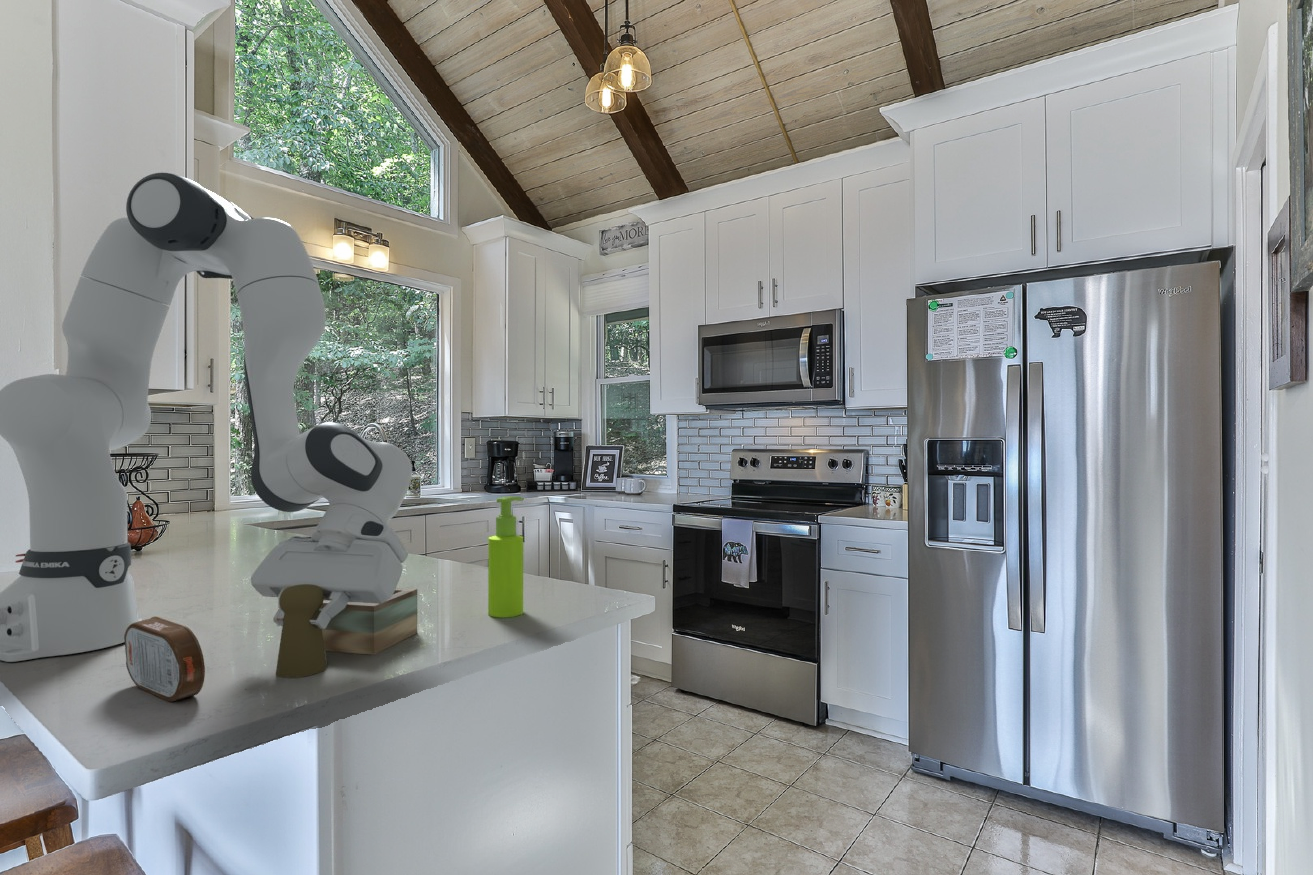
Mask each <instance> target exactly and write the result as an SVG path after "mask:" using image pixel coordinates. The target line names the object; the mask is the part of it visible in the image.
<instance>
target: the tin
mask: <svg viewBox="0 0 1313 875" xmlns="http://www.w3.org/2000/svg"><path fill="white" fill-rule="evenodd" d="M124 640H125V642H124V647H125V651H124V652H125V657H126V658H125V659H126V660H125V661H126V662H125V665H126V669H127V672H128V675H129V677H130V679H131V680H132V682H133V684H134V685H135V686H136V687H137V688H139V689H141V690H143V691H145V692H148V693H149V694H151V695H154V696H156V697H158V698H160V699H162V700H165V701H167V702H170V703H171V702H177V701H180V700H183V699H186V698H188V697H193V696H194V697H195V696H197V695H198V694H199V693H200V692H201V691H202V688H203V687H204V682H205V677H206V667H205V666H206V664H205V659H204V658H205V657H204V653H203V650H202V646H201V644H200V642H199V639H198V638H197V635H196V634H194V632H193V631H192V630H191V628H189V627H188V626H186V625H183V624H180V623H177V622H173V621H171V620H167V619H166V618H163V617H160V616H152V617H150V618H147V619H142V621H138V622H135V623H133V624H131V625H129V627H128V628H127V630H126V632H125V635H124Z"/></svg>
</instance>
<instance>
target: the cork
mask: <svg viewBox="0 0 1313 875" xmlns="http://www.w3.org/2000/svg"><path fill="white" fill-rule="evenodd" d="M323 601H324V594H323V590H322V589H321V588H320V587H319V586H317V585H311V584H301V585H295V586H291V587H288V588H286V589H284V590H283V591H282V593H281V595H280V599H279V604H280V608H281V610H282V611H283V612H284V619H283V626H281V627H282V628H281V634H280V641H279V648H278V653H277V654H278V655H277V663H276V670H275V675H276V676H277V677H281V678H290V679H291V678H303V677H308V676H313V675H316V674H319V673H322V672H323V671H325V670H326V669H327V668H328V663H327V656H326V651H325V647H324V641H323V634H322V629H319V628H315V627H313V626H312V625H311V624H310V622H309V621H310V619H311V618H312V617H313V614H314V612H315V611H319V609H320V607H321V606H322V604H323Z"/></svg>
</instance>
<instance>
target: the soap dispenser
mask: <svg viewBox="0 0 1313 875" xmlns="http://www.w3.org/2000/svg"><path fill="white" fill-rule="evenodd" d="M524 498H525V497H520V496H503V497H498V498H496V503H500V514H499V515H498V516H496V517H495V535H492V536H489V537H488V541H487V542H488V552H487V556H488V563H487V566H488V567H487V568H488V573H487V574H488V576H487V578H488V580H487V582H488V585H487V586H488V590H487V591H488V596H487V597H488V598H487V599H488V600H487V601H488V602H487V604H488V605H487V606H488V607H487V608H488V609H487V610H488V612H487V614H488V616H490V617H492V618H504V619H505V618H513V617H518V616H521V615H522V614H523V613H524V536H522V535H519V534H517V516H515V515H513V514H512V502H514V501H516V502H517V501H520V502H522V501H524V500H525V499H524Z"/></svg>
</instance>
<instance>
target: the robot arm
mask: <svg viewBox="0 0 1313 875" xmlns="http://www.w3.org/2000/svg"><path fill="white" fill-rule="evenodd" d="M125 206H126V207H125V211H126V216H127V217H121V218H117V219H115V220H113V221H111V222H110V223H109V225H108V226H107V227H106V229H105V230H104V231H103V233H102V234H101V235H100V237H99V239H98V240H97V242H96V243H95V245H94V247H93V249H92V250H91V252H90V253H89V256H88V258H87V260H86V262H85V263H84V267H83V268H82V271H81V274H80V276H79V278H78V279H79V280H78V282H77V285H76V287H75V290H74V292H73V295H72V298H71V300H70V302H69V305H68V308H67V311H66V313H65V316H64V318H63V321H62V326H61V327H62V328H61V329H62V333H63V336H64V338H65V341H66V344H67V365H66V372H65V375H64V374H56V373H55V374H54V373H47V374H40V375H33V376H28V377H24V378H20V379H18V380H17V379H16V380H14V381H12V382H9V383H8V384H6V385H5V386H3V388H1V389H0V436H1V437H2V439H4V440H5V441H6V442H8V444H9V445H10V446H11V449H12V450H13V452H14V454H15V457H16V460H17V462H18V464H19V467H20V470H21V474H22V476H23V480H24V482H25V485H26V491H27V496H28V497H27V498H28V504H29V506H28V507H29V508H28V509H29V510H28V512H29V549H27V551H26V552H25V553H18V554H15V557H23V558H21V559H18V560H15V563H17V564H18V563H21V566H20V569H19V572H18V574H19V577H18V578H16V579H15V580H14V581H13V582H11V583H10V584H9V585H8V586H6V587H5V588H4V589H2V590H1V591H0V661H3V662H7V663H9V662H11V663H12V662H13V663H14V662H20V661H21V662H22V661H27V660H32V659H39V658H46V657H47V658H48V657H55V656H65V655H72V654H78V653H84V652H90V651H91V652H92V651H95V650H100V649H104V648H109V647H113V646H117V645H119V644H122V643H125V640H124V635H125V632H126V630H127V628H128V627H129V625H131V624H133V623H135V622H138V621H142V620H143V618H139V614H138V606H137V605H138V604H137V597H136V596H137V595H136V589H135V582H134V578H133V576H132V574H130V572H129V567H130V566H131V565H132V556H133V550H132V547H131V546H132V544H131V542H129V541H128V493H127V490H126V488H125V486H124V485H123V484H122V483H121V482H120V480H119V478H118V476H117V473H116V471H115V467H114V464H113V461H112V458H111V454H110V452H111V451H115V450H118V449H122V448H124V447H127V446H128V445H130V444H132V443H135V442H137V441H138V440H140V439H141V438H142V437H143V436H144V435H145V434H146V433H147V432H148V430H149V428H150V426H151V423H152V410H151V406H150V405H149V401H148V399H149V388H150V386H149V384H150V379H151V378H150V376H151V367H152V361H153V357H154V352H155V348H156V347H157V346H156V345H157V342H158V340H159V337H160V334H161V331H162V329H163V326H164V323H165V320H166V318H167V315H168V312H169V309H170V306H171V304H172V301H173V298H174V296H175V295H174V294H175V292H176V289H177V287H178V285H179V283H180V282H181V280H182V279H183V277H185V276H187V275H189V274H190V273H193V272H195V273H197V274H198V275H199V276H200V277H201V278H204V279H227V280H232V281H233V286H234V289H235V293H236V297H237V301H238V305H239V311H240V315H241V317H240V318H241V322H242V330H243V342H244V347H243V348H244V350H243V351H244V354H243V370H244V371H243V373H244V381H245V383H244V384H245V387H246V388H245V390H246V395H247V396H246V397H247V402H248V403H247V404H248V410H249V416H250V422H251V430H252V436H253V445H254V451H253V452H254V453H253V459H252V464H251V468H250V469H251V470H250V479H251V484H252V487H253V490H254V492H255V493H256V495H257V496H258V498H259V499H260V500H262V502H264V503H265V504H266V505H267V506H269V507H270V508H273V509H275V510H278V511H280V512H285V513H295V512H300V511H302V510H305V509H307V508H308V507H310V506H311V505H313V504H315V503H317V502H319V500H320V499H323V498H324V499H326V500H327V501H328V508H327V509H326V510H325V512H324V514H323V515H322V517H321V519H320V520H319V523H318V524H317V526H316V527H315V529H314V530H313V531H312V533H311V535H310V536H299V535H298V536H297V535H295V536H294V535H293V536H291V537H290V538H289V539H285V540H283V541H280V542H279V543H278V544H277V545H276V546H274V547H273V548H272V549H271V550H270V552H268V554H267V555H266V556H265V557H264V558H263V559H262V561H261V562H260V563H259V565H258V566H257V567H256V569H255V570H254V571H253V573H252V575H251V577H250V583H251V586H252V587H253V588H254V589H255V591H256V592H257V593H259V595H261V596H262V597H265V598H266V597H267V598H277V599H278V601H277V603H278V609H277V611H276V612H275V614H274V616H273V617H272V618H273V620H272V621H273V622H274V623H275V625H277V626H278V627H279V626H281V627H282V626H283V619H284V612H283V611H282V610H281V608H280V604H279V599H280V595H281V593H282V591H283V590H284V589H286V588H288V587H291V586H295V585H301V584H311V585H317V586H319V587H320V588H321V589H322V590H323V594H324V600H329V601H330V602H329V603H328V604H327V605H326V606H325V607H324V608H323V609H322V610H321V611H315V612H314V614H313V617H312V618H311V619H310V621H309V622H310V624H311V625H312V626H313V627H315V628H319V629H325V628H326V627H327V625H328V623H329V621H330V619H331V618H333V617H334V616H335V615H337V614H338V613H339V612H340V611H342V610H343V609H344V608H345V607H346V605H347V603H348V602H361V603H377V604H382V603H384V602H385V601H387V600H388V599H390V598H391V596H392V595H393V593H394V591H395V589H396V588H398V587H397V586H398V584H399V581H400V579H401V576H402V574H403V563H404V562H405V561H406V560H407V558H408V556H409V551H408V549H407V547H406V546H405V544H404V543H403V542H404V541H402V540H401V538H400V537H399V535H398V534H397V532H396V531H395V530H394V529H393V528H392V526H390V525H389V523H390V521H391V519H392V518H394V517H395V516H396V515H397V513H398V512H399V510H400V507H401V505H402V503H403V501H404V499H405V497H406V495H407V492H408V490H409V487H410V484H411V481H412V475H413V466H412V462H411V460H410V458H409V457H408V455H407V454H406V453H405V452H404V451H403V450H402V449H401V448H399V447H398V446H396V445H394V444H393V443H389V442H386V441H373V440H369V439H366V438H364V437H362V436H360V435H359V434H358V433H357V432H355V431H354V430H352V428H350V427H349V426H346V425H344V424H342V423H338V422H333V421H332V422H330V421H328V422H324V423H323V422H322V423H320V424H317V425H316V426H314V427H311V428H309V429H308V430H305V431H303V432H302V433H300V427H299V426H300V425H299V421H298V414H297V408H296V401H295V396H294V393H295V392H294V391H295V390H294V389H295V388H294V387H295V383H296V378H297V375H298V373H299V371H300V369H301V367H302V365H303V363H304V362H305V360H306V359H307V357H308V356H309V355H310V353H311V352H312V351H313V349H314V348H315V347H316V346H317V344H318V343H319V341H320V339H321V338H322V336H323V334H324V332H325V329H326V307H325V306H326V305H325V301H324V298H323V294H322V290H321V288H320V283H319V280H318V277H317V273H316V271H315V269H314V265H313V263H312V261H311V257H310V255H309V254H308V251H307V249H306V247H305V245H304V242H303V241H302V239H301V237H300V235H299V233H298V232H297V231H296V229H295V228H293V227H292V225H291V224H290V223H287V222H285V221H283V220H280V219H278V218H273V217H252V216H251V215H249V214H247V213H246V212H245V211H243V210H242V209H241V208H240V207H238V206H237V205H236V204H234V203H233V202H232V201H230V200H228V198H225V197H223V196H221V195H220V196H219V195H218V194H216V193H215V192H212V191H211V190H208V189H206V188H204V187H203V186H202V185H200V184H199V183H198V182H195V181H193V180H192V179H189V178H187V177H185V176H181V175H180V174H179V175H177V174H175V173H169V172H155V173H151V174H148V175H146V176H144V177H142V178H141V179H139V181H137V182H136V183H135V184H134V185H133V187H132V188H131V190H130V191H129V193H128V196H127V198H126V205H125Z"/></svg>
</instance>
